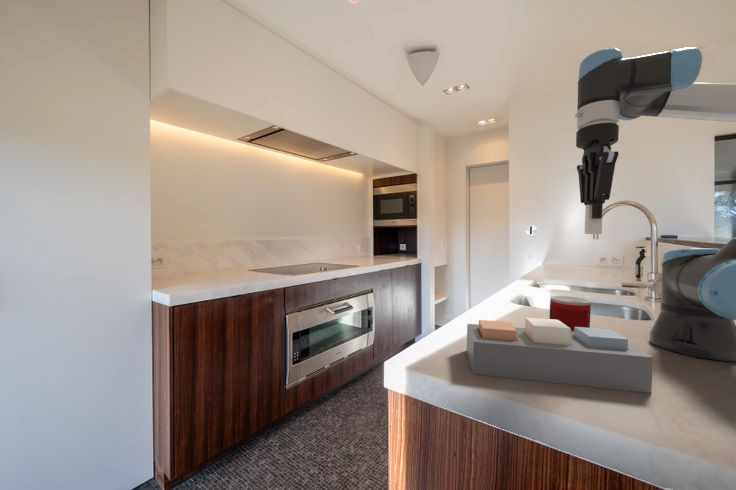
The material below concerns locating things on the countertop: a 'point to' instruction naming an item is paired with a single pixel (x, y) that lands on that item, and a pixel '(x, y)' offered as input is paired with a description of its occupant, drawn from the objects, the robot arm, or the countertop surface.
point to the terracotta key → (497, 330)
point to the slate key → (600, 338)
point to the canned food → (570, 311)
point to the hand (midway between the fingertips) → (593, 233)
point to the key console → (559, 362)
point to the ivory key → (547, 331)
